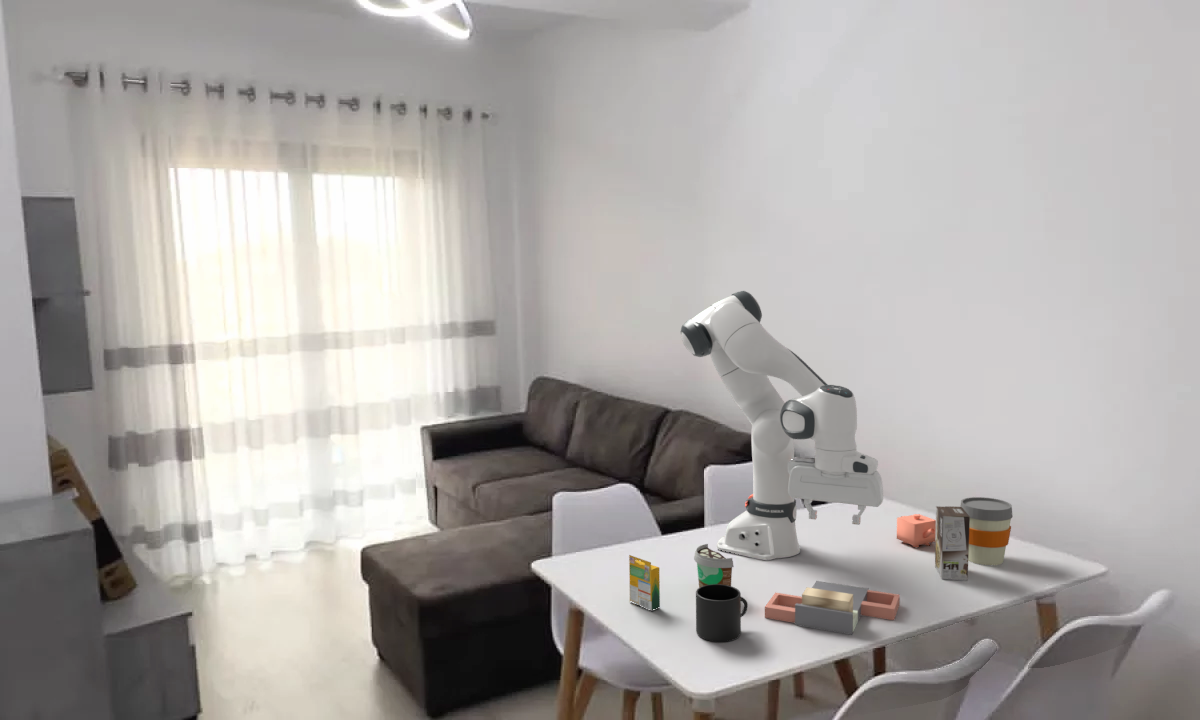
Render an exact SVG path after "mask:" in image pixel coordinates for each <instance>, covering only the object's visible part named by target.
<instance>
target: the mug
mask: <svg viewBox="0 0 1200 720" xmlns="http://www.w3.org/2000/svg"><path fill="white" fill-rule="evenodd" d="M741 603H743V608H741V607H742V606H741V605H742V604H741ZM748 606H749V605H748V601H747V600H746V599H745V598H744V597H743V596H741V591H740V590H739V589H738V588H736V586H735V587H734V586H732V585H731V586H728V585H722V584H710V585H705V586H702V587H700V588H699V587H698V588H697V589H696V590H695V631H696V634H697V636H698V637H700V639H701V638H702V639H703V640H705V641H709V642H715V643H726V642H732V641H734V640H736V639H738V638H739V637H740V636H741V632H742V627H741V626H742V622H741V621H742V620H741V619H742V617H744V616H745V615H746V613H747V612H748V608H749V607H748ZM741 610H742V611H741Z"/></svg>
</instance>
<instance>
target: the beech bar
mask: <svg viewBox="0 0 1200 720" xmlns="http://www.w3.org/2000/svg"><path fill="white" fill-rule="evenodd" d="M801 597H802V604H804V605H810V606H816V607H822V608H829V609H835V610H841V611H847V612H853V594H848V593H842V592H835V591H828V590H822V589H815V588H812V587H806V588H805V590H804V591H803V592H802V594H801Z"/></svg>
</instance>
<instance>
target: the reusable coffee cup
mask: <svg viewBox="0 0 1200 720" xmlns="http://www.w3.org/2000/svg"><path fill="white" fill-rule="evenodd" d="M959 505H960V506H959V507H962V508H963V509H964V510H965V512H966V513H967V514H968V515H969V516H970V528H969V555H968V562H970V563H972V562H973V564H976V565H980V564H981V566H988V565H990V566H991V565H994V566H999V565H1002V564H1003V563H1004V560H1005V559H1004V558H1005V553H1006V550H1007V549H1006V548H1007V547H1008V545H1009V541H1010V536H1011V532H1012V531H1011V530H1012V526H1011V520H1012V518H1013V505H1012V504H1011V503H1010V502H1008V501H1005V500H1002V499H997V498H994V497H993V498H992V497H982V496H981V497H980V496H975V497H974V496H973V497H966V498H962V499H961V500H960V504H959Z"/></svg>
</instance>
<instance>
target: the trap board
mask: <svg viewBox="0 0 1200 720" xmlns="http://www.w3.org/2000/svg"><path fill="white" fill-rule="evenodd" d="M811 588H815V589H822V590H828V591H835V592H842V593H848V594H853V612H847V611H841V610H835V609H829V608H822V607H816V606H810V605H804V604H802V595H801V596H799V595H793V594H787V593H781V592H777V591H775V592H774V594H773V595H772V597H770V599H769V601H768V602H767V604H766V605H765V606H764V619H770V620H776V621H782V622H789V623H794V625H795V626H800V627H806V628H811V629H818V630H822V631H827V632H828V631H829V632H835V633H839V634H845V635H850V636H851V635H852V636H853V633H854V631H855V629H856V627H857V625H858V622H859V621H860V618H861V616H864V617H865V616H866V617H870V618H878V619H884V620H890V621H895V619H896V616H897V614H898V610H899V608H900V602H901V601H900V597H901V595H900V594H898V593H890V592H883V591H877V590H871V589H869V587H868V588H867V587H861V586H854V585H848V584H842V583H834V582H827V581H823V580H816V581H815V582H814V583H813V586H812V587H811Z"/></svg>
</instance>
